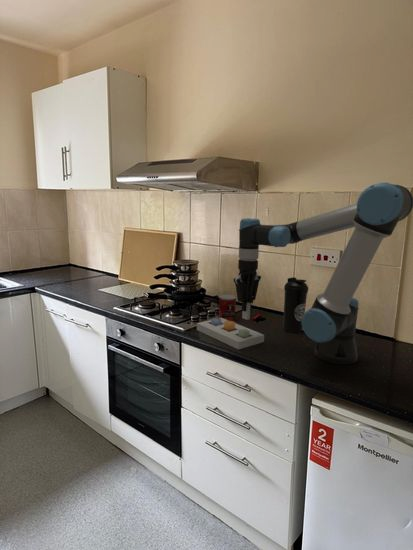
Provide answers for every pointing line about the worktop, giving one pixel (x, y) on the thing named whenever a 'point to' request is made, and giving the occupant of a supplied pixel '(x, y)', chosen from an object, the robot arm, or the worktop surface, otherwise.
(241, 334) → the button sage
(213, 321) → the button slate
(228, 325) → the button orange
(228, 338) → the console
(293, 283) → the water bottle
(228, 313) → the canned food
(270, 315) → the worktop surface
